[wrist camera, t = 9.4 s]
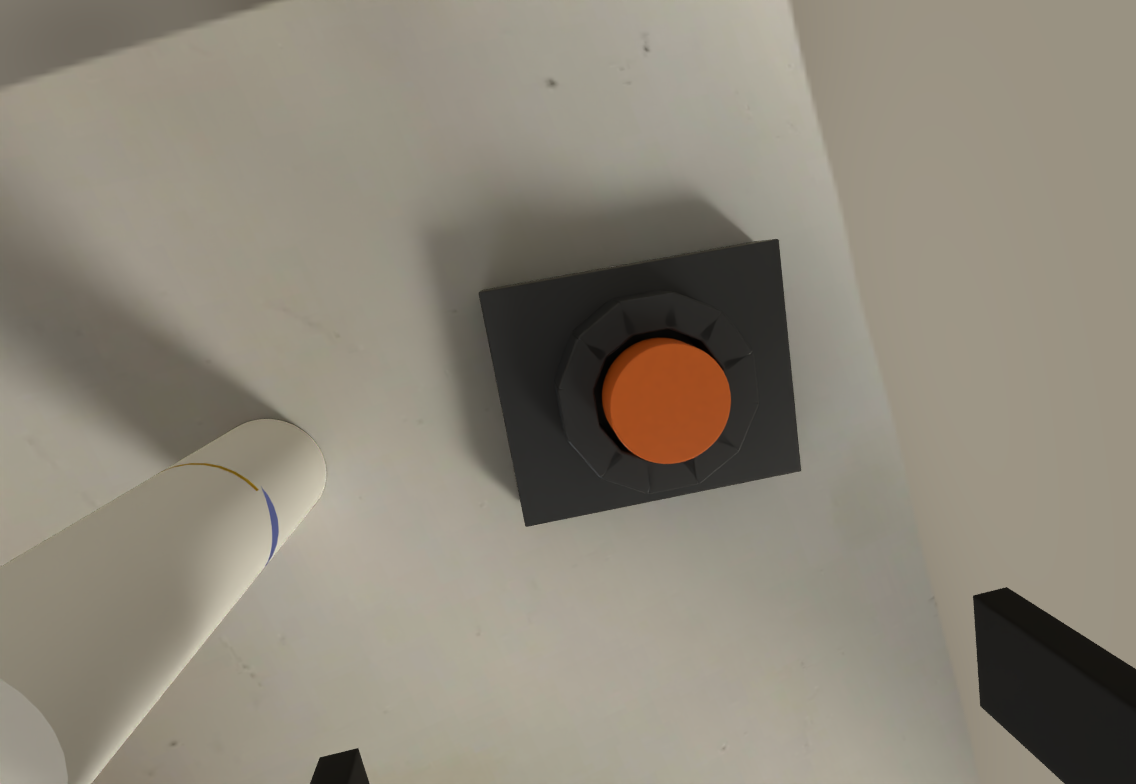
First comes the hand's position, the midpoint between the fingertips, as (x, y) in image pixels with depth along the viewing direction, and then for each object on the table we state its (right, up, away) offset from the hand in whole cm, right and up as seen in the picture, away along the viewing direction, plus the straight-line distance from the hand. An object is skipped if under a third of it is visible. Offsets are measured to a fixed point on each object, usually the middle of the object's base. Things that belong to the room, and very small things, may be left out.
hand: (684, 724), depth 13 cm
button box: (0, +8, +12) cm, 14 cm away
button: (+1, +7, +9) cm, 11 cm away
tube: (-14, +4, +12) cm, 19 cm away
